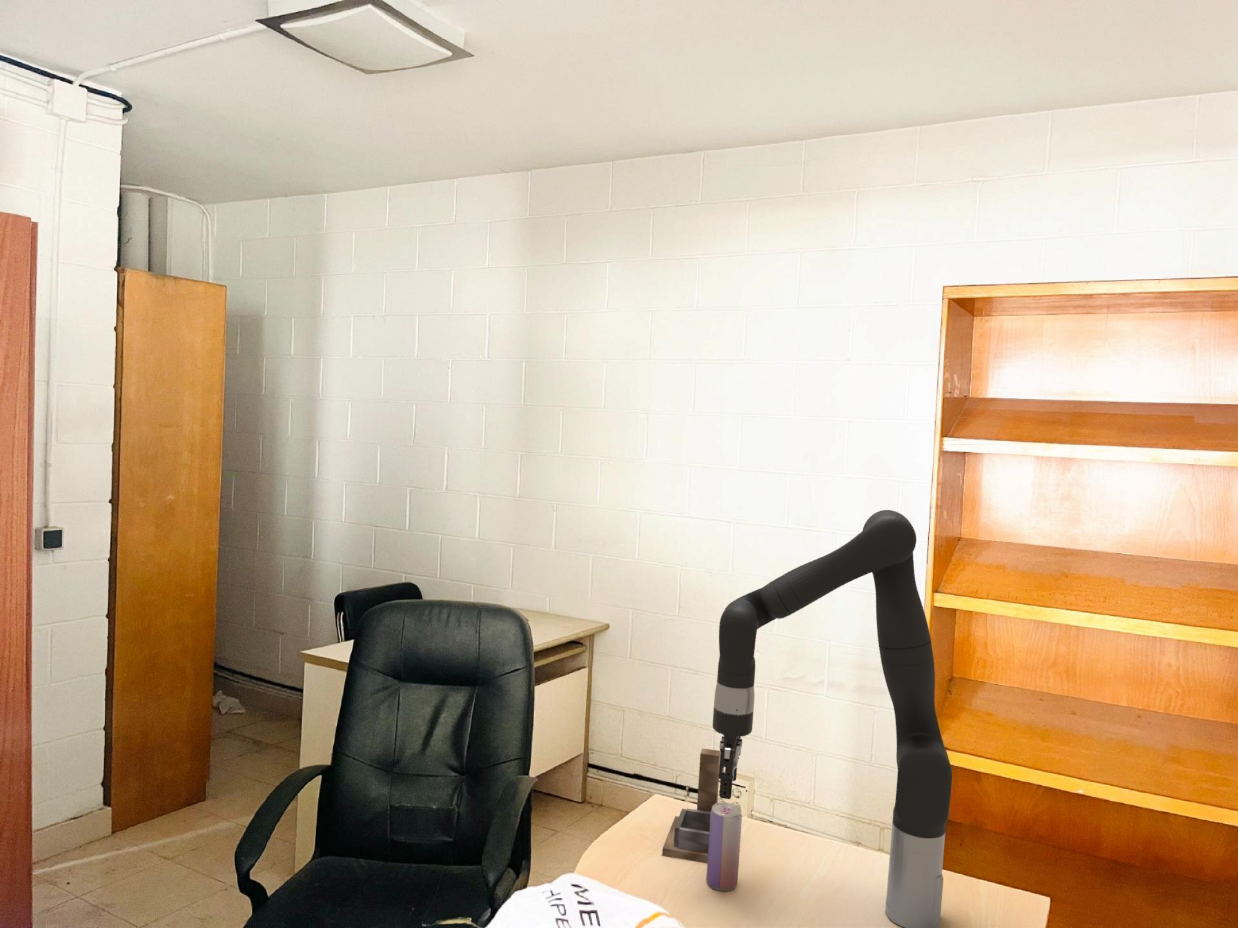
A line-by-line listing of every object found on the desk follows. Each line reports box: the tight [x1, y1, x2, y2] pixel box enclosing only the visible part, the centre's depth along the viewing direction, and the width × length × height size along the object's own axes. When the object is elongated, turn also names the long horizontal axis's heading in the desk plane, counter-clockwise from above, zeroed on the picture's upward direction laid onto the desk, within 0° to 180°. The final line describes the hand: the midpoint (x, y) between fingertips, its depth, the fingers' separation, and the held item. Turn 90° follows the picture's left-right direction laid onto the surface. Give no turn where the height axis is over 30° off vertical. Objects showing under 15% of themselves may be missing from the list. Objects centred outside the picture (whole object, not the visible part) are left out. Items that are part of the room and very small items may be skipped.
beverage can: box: [706, 801, 743, 892], centre depth 176 cm, size 6×6×15 cm
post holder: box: [661, 748, 720, 864], centre depth 191 cm, size 14×15×18 cm
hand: (727, 788), depth 175 cm, fingers open, 8 cm apart
